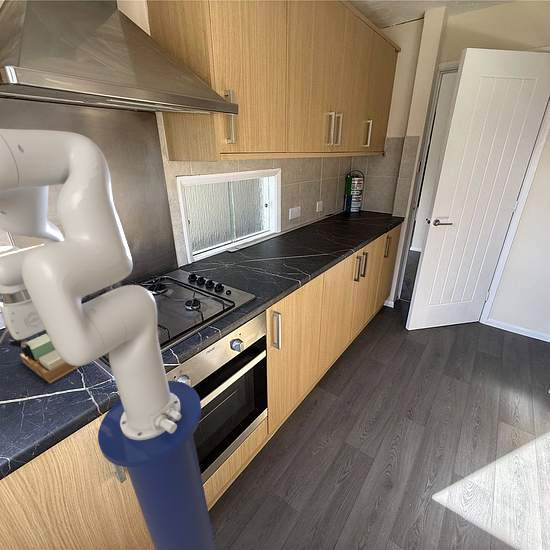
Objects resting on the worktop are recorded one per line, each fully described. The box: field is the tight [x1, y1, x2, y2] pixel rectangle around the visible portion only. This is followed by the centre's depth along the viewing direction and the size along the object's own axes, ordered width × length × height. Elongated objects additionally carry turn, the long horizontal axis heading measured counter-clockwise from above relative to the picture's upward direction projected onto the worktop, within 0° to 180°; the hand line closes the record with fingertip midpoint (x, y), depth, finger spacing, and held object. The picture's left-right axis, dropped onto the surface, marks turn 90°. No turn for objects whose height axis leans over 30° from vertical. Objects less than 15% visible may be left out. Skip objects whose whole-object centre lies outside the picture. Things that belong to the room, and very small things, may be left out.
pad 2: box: [39, 350, 65, 371], centre depth 80 cm, size 6×6×4 cm
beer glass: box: [102, 280, 124, 294], centre depth 110 cm, size 7×7×15 cm
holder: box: [19, 352, 81, 384], centre depth 82 cm, size 16×8×3 cm, turn 59°
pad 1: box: [27, 333, 55, 360], centre depth 83 cm, size 6×6×4 cm
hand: (43, 350), depth 83 cm, fingers closed on pad 1, 5 cm apart
